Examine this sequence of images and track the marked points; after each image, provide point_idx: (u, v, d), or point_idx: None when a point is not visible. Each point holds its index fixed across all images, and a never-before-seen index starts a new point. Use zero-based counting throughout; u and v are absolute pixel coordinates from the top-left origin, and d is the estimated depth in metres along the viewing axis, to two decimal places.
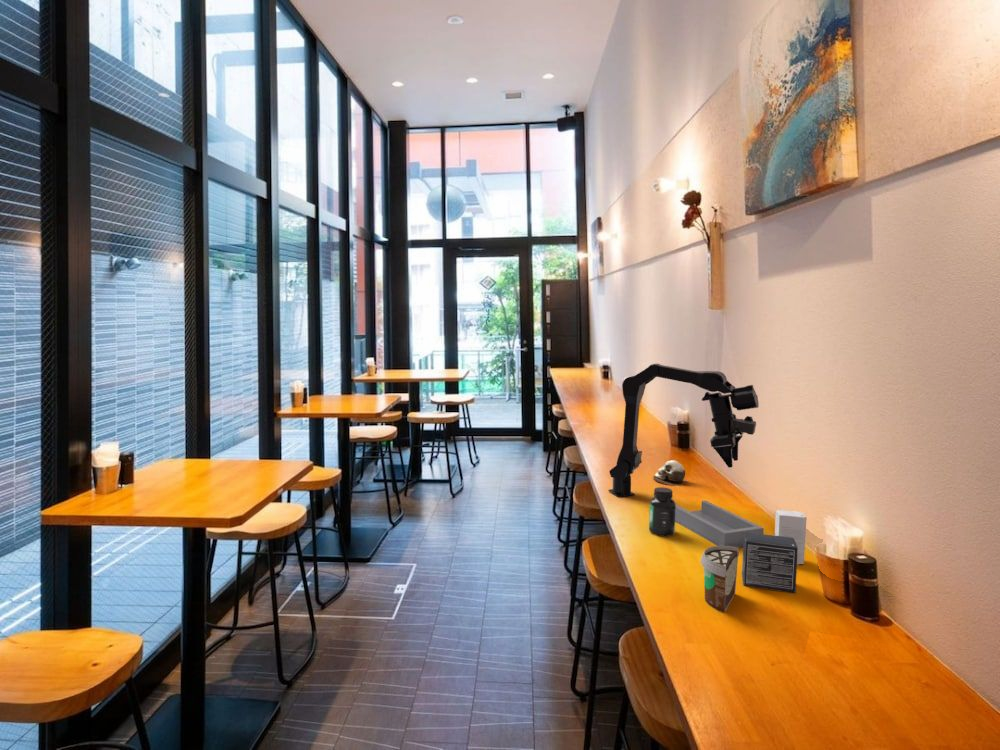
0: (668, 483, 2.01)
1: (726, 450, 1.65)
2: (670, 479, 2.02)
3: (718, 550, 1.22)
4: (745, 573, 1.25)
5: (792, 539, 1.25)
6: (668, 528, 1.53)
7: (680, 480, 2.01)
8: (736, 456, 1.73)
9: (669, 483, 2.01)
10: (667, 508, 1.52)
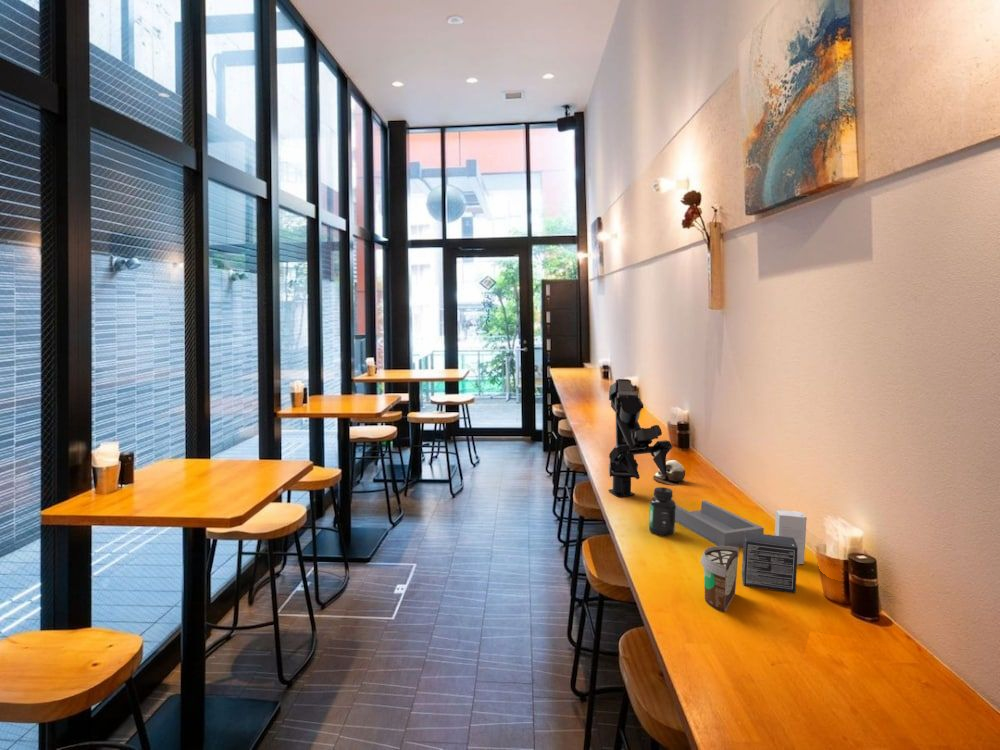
0: (668, 483, 2.01)
1: (628, 462, 1.62)
2: (670, 479, 2.02)
3: (718, 550, 1.22)
4: (745, 573, 1.25)
5: (792, 539, 1.25)
6: (668, 528, 1.53)
7: (680, 480, 2.01)
8: (663, 470, 1.64)
9: (669, 483, 2.01)
10: (667, 508, 1.52)
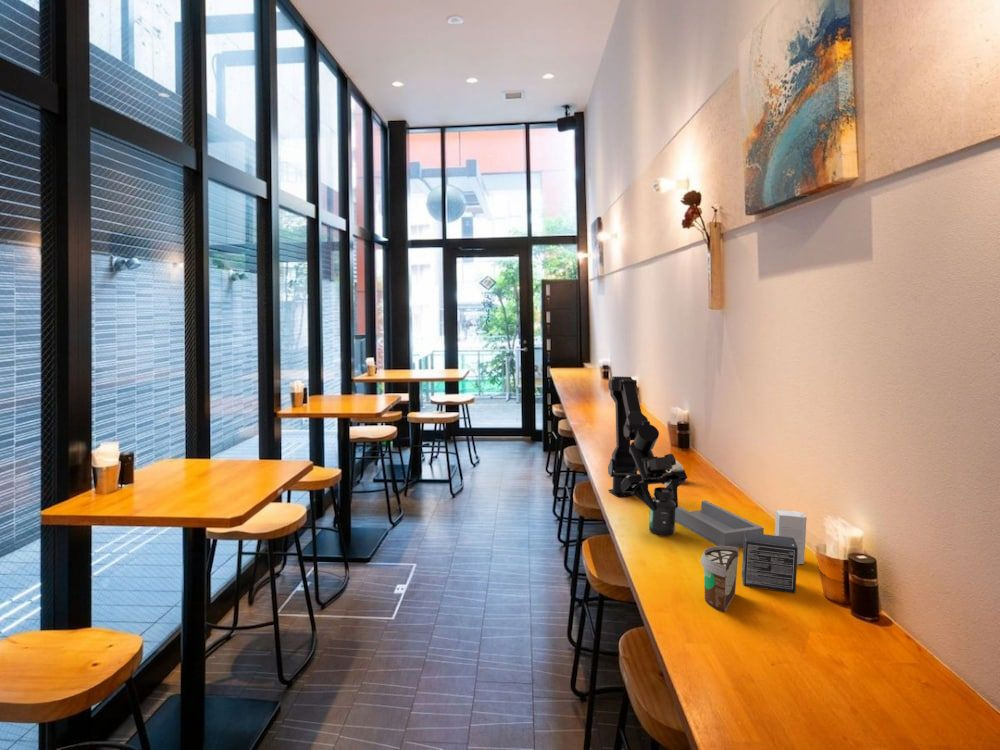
0: None
1: (643, 492, 1.55)
2: None
3: (718, 550, 1.22)
4: (745, 573, 1.25)
5: (792, 539, 1.25)
6: (668, 528, 1.53)
7: None
8: (675, 502, 1.55)
9: None
10: (667, 508, 1.52)
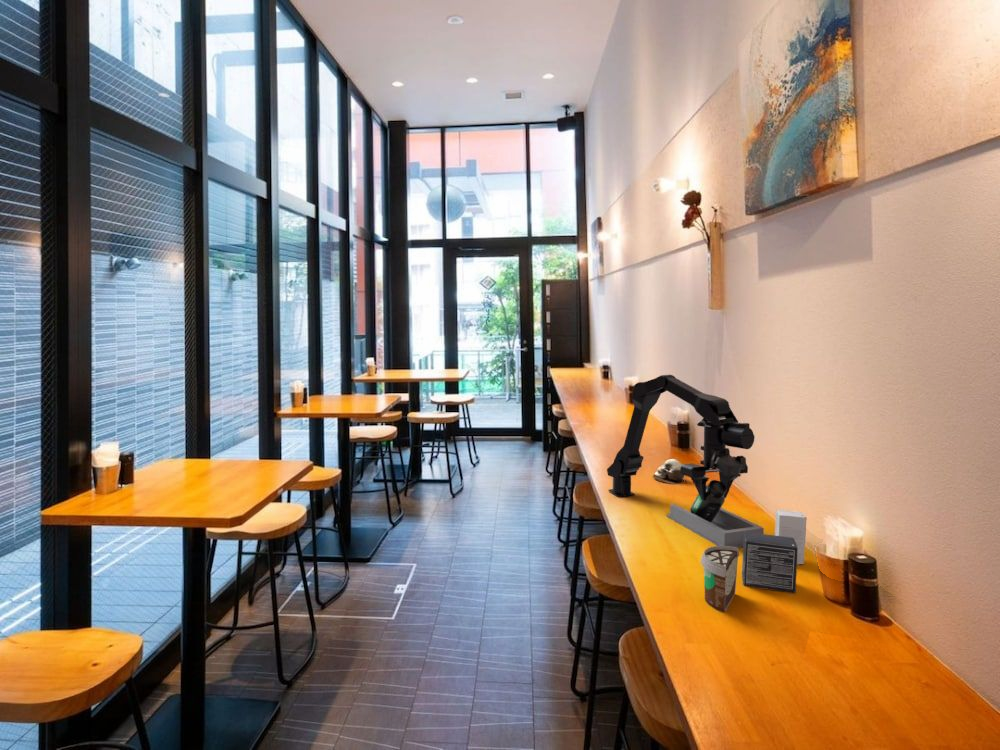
0: (668, 482, 2.02)
1: (700, 482, 1.56)
2: (670, 478, 2.04)
3: (718, 550, 1.22)
4: (745, 573, 1.25)
5: (792, 539, 1.25)
6: (710, 518, 1.59)
7: (680, 479, 2.03)
8: None
9: (669, 482, 2.02)
10: (716, 505, 1.56)
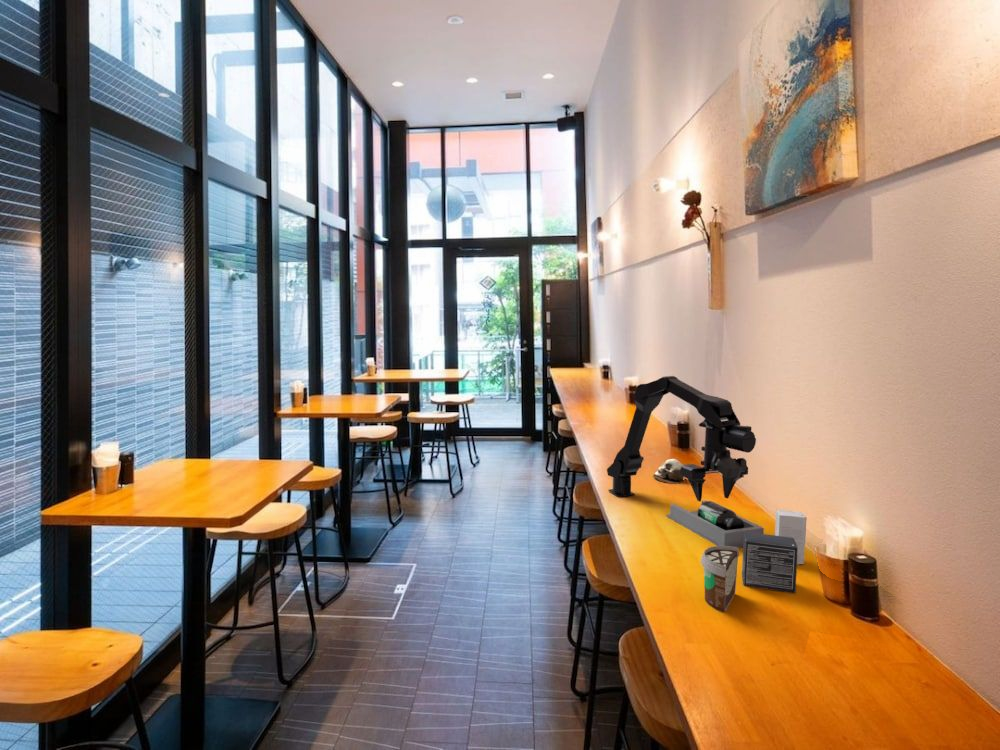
0: (669, 481, 2.03)
1: (696, 483, 1.56)
2: (670, 478, 2.04)
3: (718, 550, 1.22)
4: (745, 573, 1.25)
5: (792, 539, 1.25)
6: None
7: (680, 478, 2.03)
8: (727, 494, 1.59)
9: (669, 481, 2.03)
10: None
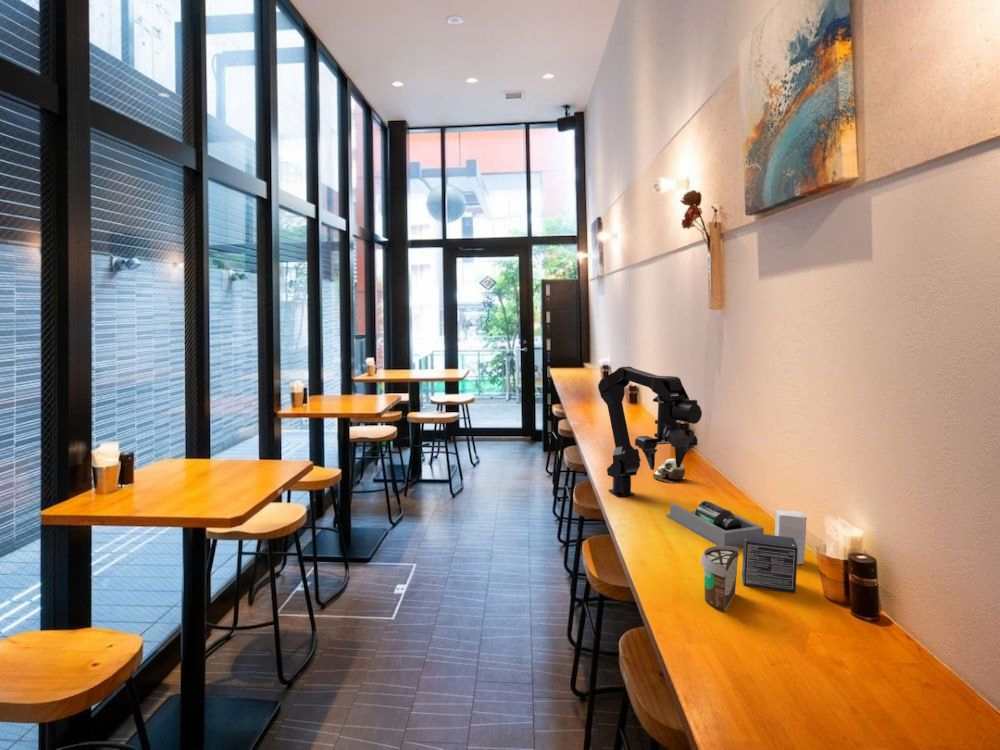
0: (668, 481, 2.03)
1: (649, 453, 1.70)
2: (670, 477, 2.04)
3: (718, 550, 1.22)
4: (745, 573, 1.25)
5: (792, 539, 1.25)
6: None
7: (680, 478, 2.04)
8: (678, 463, 1.73)
9: (669, 481, 2.03)
10: None
